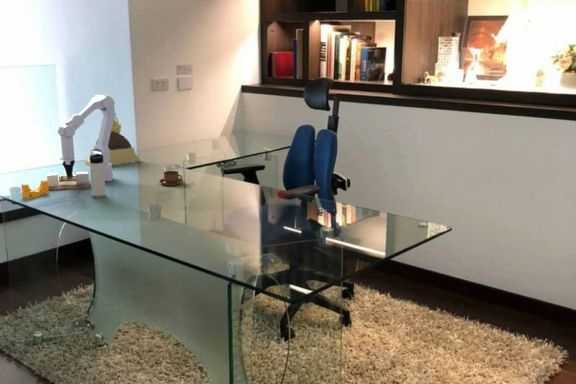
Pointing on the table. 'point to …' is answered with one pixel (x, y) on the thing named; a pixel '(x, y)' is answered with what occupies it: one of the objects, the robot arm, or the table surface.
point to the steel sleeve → (82, 178)
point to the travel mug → (97, 176)
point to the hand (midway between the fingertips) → (69, 175)
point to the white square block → (52, 179)
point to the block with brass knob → (67, 178)
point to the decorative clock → (118, 147)
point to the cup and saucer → (171, 178)
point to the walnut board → (67, 186)
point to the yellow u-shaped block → (30, 193)
